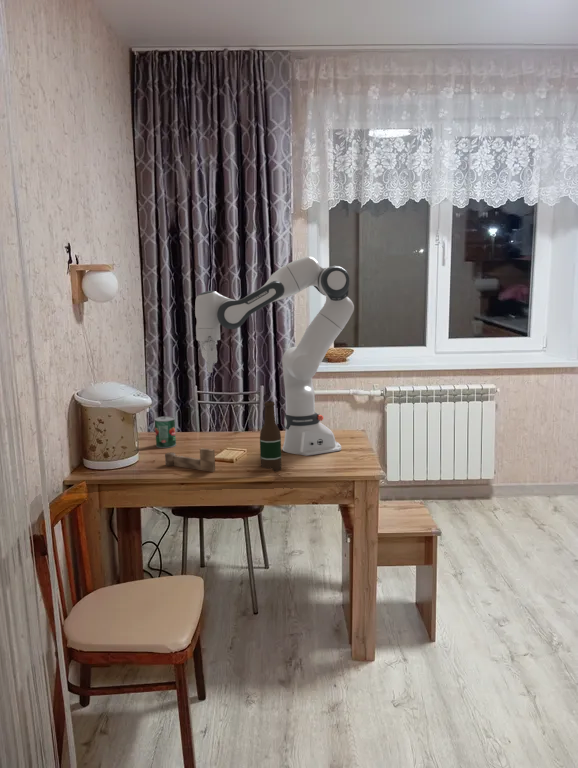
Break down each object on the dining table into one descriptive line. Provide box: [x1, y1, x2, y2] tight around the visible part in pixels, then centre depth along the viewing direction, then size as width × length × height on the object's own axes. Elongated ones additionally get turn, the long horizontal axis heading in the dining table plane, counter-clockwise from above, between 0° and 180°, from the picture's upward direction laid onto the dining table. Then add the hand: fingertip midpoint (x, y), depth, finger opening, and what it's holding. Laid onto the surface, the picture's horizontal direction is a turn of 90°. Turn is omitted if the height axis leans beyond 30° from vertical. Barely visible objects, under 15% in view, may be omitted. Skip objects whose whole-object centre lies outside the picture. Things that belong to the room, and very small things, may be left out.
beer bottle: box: [259, 400, 282, 473], centre depth 236 cm, size 8×8×24 cm
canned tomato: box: [154, 415, 177, 449], centre depth 271 cm, size 8×8×11 cm
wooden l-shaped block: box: [164, 447, 216, 473], centre depth 239 cm, size 20×9×8 cm, turn 62°
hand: (209, 372), depth 255 cm, fingers closed
